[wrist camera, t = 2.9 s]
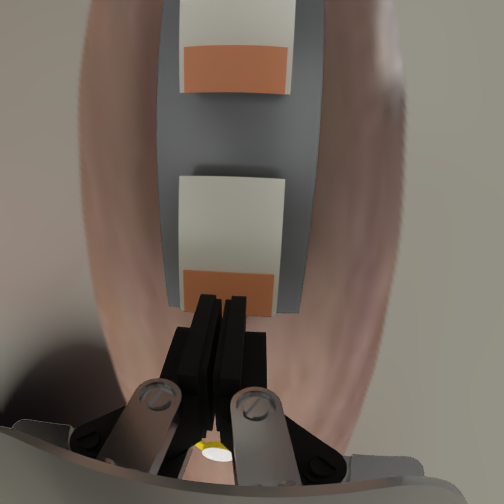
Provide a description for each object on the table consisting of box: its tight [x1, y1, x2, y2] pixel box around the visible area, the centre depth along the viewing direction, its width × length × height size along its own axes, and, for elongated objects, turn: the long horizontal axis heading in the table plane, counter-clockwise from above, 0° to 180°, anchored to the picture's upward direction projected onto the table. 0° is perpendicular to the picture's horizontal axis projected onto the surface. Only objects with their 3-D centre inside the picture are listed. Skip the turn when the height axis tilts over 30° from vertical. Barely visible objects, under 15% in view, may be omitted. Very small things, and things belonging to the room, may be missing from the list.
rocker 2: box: [178, 176, 285, 317], centre depth 12 cm, size 6×4×2 cm
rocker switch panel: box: [157, 0, 324, 313], centre depth 14 cm, size 22×7×5 cm, turn 178°
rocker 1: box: [179, 0, 296, 95], centre depth 9 cm, size 6×4×2 cm
